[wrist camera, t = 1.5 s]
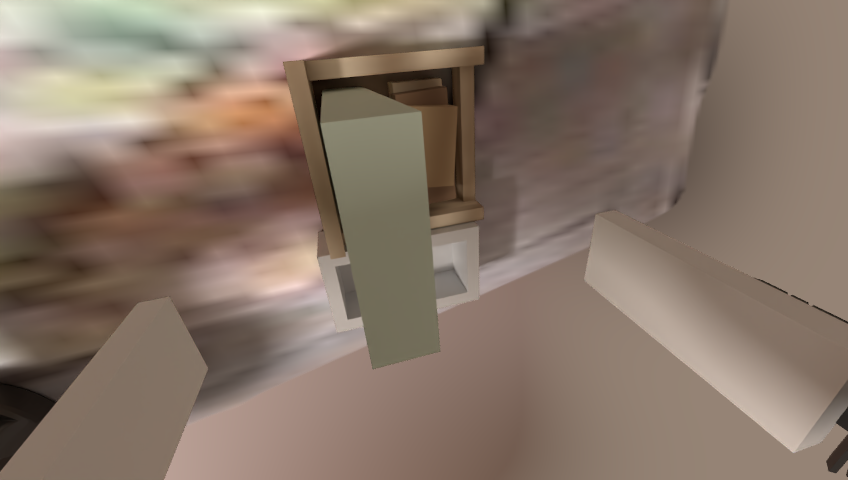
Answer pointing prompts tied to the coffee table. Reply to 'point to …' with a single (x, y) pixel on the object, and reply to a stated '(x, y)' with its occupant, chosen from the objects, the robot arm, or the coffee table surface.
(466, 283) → the bin
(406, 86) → the offcut birch
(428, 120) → the offcut oak
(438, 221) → the rack
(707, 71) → the coffee table surface
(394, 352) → the grey-green flat block
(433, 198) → the offcut walnut
